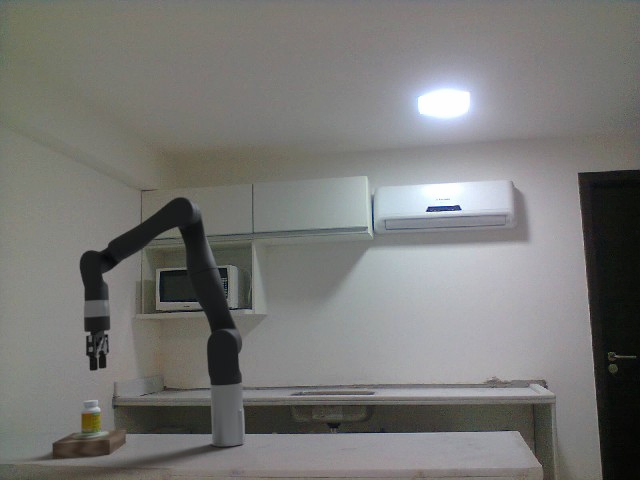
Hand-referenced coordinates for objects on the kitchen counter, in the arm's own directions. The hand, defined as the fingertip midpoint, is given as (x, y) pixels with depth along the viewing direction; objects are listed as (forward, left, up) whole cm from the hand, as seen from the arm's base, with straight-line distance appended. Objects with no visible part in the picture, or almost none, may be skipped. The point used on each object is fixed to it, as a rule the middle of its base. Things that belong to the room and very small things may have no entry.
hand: (98, 369), depth 185 cm
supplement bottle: (+2, +1, -19) cm, 19 cm away
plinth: (+2, +2, -23) cm, 23 cm away
